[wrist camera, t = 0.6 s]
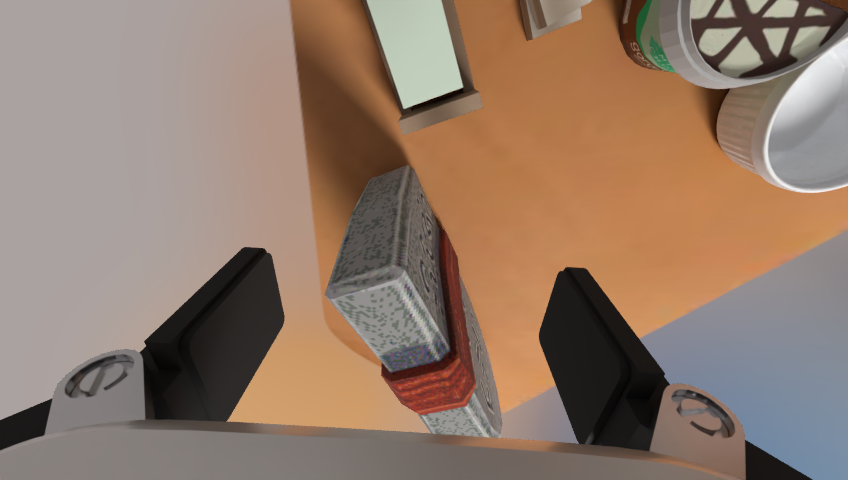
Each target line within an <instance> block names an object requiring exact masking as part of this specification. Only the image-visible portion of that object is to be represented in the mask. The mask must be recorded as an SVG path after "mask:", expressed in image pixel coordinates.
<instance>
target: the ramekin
mask: <svg viewBox="0 0 848 480" xmlns="http://www.w3.org/2000/svg"><path fill="white" fill-rule="evenodd" d="M716 131H717V139H718V142H719V145H720V146H721V149H722V151H723V152H724V153H725V155H726V156H727V157H729V158H730V159H731V160H732V161H733V162H735V163H737V164H739V165H740V166H742V167H744V168H746V169H748V170H750V171H752V172H754V173H756V174H758V175H760V176H761V177H762V178H763V179H765V180H766V181H767V182H769V183H771V184H773V185H775V186H778V187H780V188H784V189H787V190H791V191H795V192H803V193H816V192H825V191H831V190H835V189H838V188H842V187H845V186H848V34H847V35H846V36H845V37H844V38H843V39H842V40H840V41H839V42H838V43H837V44H835V45H834V46H833V47H831V48H830V49H829V50H828V51H826V52H825V53H823V54H822V55H820V56H819V57H817V58H816V59H814V60H813V61H811V62H809V63H807V64H805V65H803V66H802V67H800V68H798V69H796V70H794V71H791V72H788V73H786V74H784V75H782V76H779V77H776V78H774V79H771V80H768V81H765V82H760V83H756V84H752V85H746V86H741V87H736V88H731V89H730V90H729V92H728V93H727V95H726V97H725V99H724V101H723V103H722V105H721V108H720V111H719V114H718V119H717V130H716Z"/></svg>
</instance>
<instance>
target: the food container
mask: <svg viewBox="0 0 848 480" xmlns="http://www.w3.org/2000/svg"><path fill="white" fill-rule="evenodd" d="M619 24H620V38H621V42H622V45H623V47H624V49H625V51H626V54H627V56H629V57H630V58H631V59H632V60H633V61H634V62H635V63H636V64H638V65H640V66H642V67H645V68H648V69H654V70H661V71H667V72H674V73H678V74H679V75H680V76H682V77H683V78H684V79H685V80H687V81H689V82H691V83H693V84H695V85H698V86H702V87H705V88H713V89H727V88H736V87H741V86H746V85H752V84H756V83H760V82H765V81H768V80H771V79H774V78H776V77H779V76H782V75H784V74H786V73H788V72H791V71H794V70H796V69H798V68H800V67H802V66H803V65H805V64H807V63H809V62H811V61H813V60H814V59H816V58H817V57H819V56H820V55H822V54H823V53H825V52H826V51H828V50H829V49H830V48H831V47H833V46H834V45H835V44H837V43H838V42H839V41H840V40H842V39H843V38H844V37H845V36H846V35H847V34H848V11H847V12H846V11H844V10H842V9H841V8H838V7H834V6H832V5H829V4H827V3H825V2H823V1H821V0H624V1H623V5H622V10H621V15H620V20H619Z"/></svg>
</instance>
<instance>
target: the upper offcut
mask: <svg viewBox="0 0 848 480" xmlns="http://www.w3.org/2000/svg"><path fill="white" fill-rule="evenodd" d="M591 1H592V0H529V3H530V6H531V10H532V13H533V16H534V19H535V23H536V26H537V29H538V30H539V29H542V28H545V27H547V26H549V25H551V24H553V23H554V22H556V21H558V20H559V19H561V18H563V17H565V16H566V15H568V14H570V13H572V12H573V11H575V10H577V9H578V8H580V7H582V6H584V5H585V4H587V3H589V2H591Z"/></svg>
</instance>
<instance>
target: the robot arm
mask: <svg viewBox="0 0 848 480" xmlns="http://www.w3.org/2000/svg"><path fill="white" fill-rule="evenodd" d="M283 324H284V312H283V308H282V303H281V298H280V294H279V288H278V283H277V279H276V274H275V269H274V264H273V260H272V256H271V254H270V253H267V252H266V250H265V249H263V248H251V247H244V248H243V249H241V250H240V251H239V252H238V253H237V254H236V255H235V256H234V257H233V258H232V259H231V260H230V261H229V262H228V263H227V264H225V266H223V267H222V268H221V269H220V270H219V271H218V272H217V273H216V274H215V275H214V276H213V277H212V278H211V279H210V280H209V281H207V282H206V283H205V284H204V285H203V286H202V287H201V288H200V289H199V290H198V291H197V292H196V293H195V294H194V295H193V296H192V297H191V298H190V299H188V301H186V302H185V303H184V304H183V305H182V306H181V307H180V308H179V309H178V310H177V311H176V312H175V313H174V314H173V315H172V316H171V317H170V318H169V319H167V320H166V321H165V322H164V323H163V324H162V325H161V326H160V327H159V328H158V329H157V330H156V331H155V332H154V333H153V334H151V335H150V336H149V337H148V338H147V339H146V340H145V341H144V342H145V344H146V347H145V348H144V349H143V350H142V351H141V352H140V353H139V352H137V351H135V350H129V349H124V350H115V351H111V352H108V353H104V354H101V355H99V356H97V357H94V358H92V359H90V360H88V361H86V362H84V363H82V364H81V365H79V366H77V367H76V368H75V369H73V370H72V371H71V372H69V373H68V374H67V375H66V376H65V377H64V378H63V379H62V380H61V381H60V382H59V383H58V385H57V387H56V389H55V391H54V395H53V398H52V399H50V400H48V401H45V402H43V403H40V404H38V405H35V406H33V407H31V408H29V409H26V410H24V411H21V412H19V413H16V414H14V415H12V416H9V417H7V418H4V419H2V420H0V480H812V479H811V478H809V477H807V476H806V475H804V474H802V473H800V472H799V471H797V470H795V469H793V468H792V467H790V466H789V465H787V464H785V463H784V462H781V461H780V460H778V459H777V458H775V457H773V456H772V455H770V454H768V453H766V452H765V451H763V450H762V449H760V448H758V447H756V446H754V445H753V444H751V443H750V442H748V441H746V440H745V434H744V430H743V426H742V425H741V423H740V421H739V420H738V418H737V417H736V415H735V414H734V413H733V412H732V411H731V410H730V409H729V408H728V407H727V406H726V405H724V404H723V403H722V402H721V401H719V400H718V399H717V398H715V397H714V396H712V395H710V394H709V393H707V392H705V391H703V390H701V389H698V388H696V387H694V386H690V385H686V384H671V385H670V384H669V383H668V382H667V380H666V379H665V378H664V375H665V373H664V372H663V370H662V369H661V368H660V366H659V365H658V364H657V362H656V361H655V360H654V358H653V357H652V356H651V354H650V353H649V352H648V350H647V349H646V348H645V346H644V345H643V344H642V342H641V341H640V340H639V338H638V337H637V336H636V334H635V333H634V332H633V330H632V329H631V328H630V326H629V325H628V324H627V322H626V321H625V320H624V318H623V317H622V316H621V314H620V313H619V312H618V310H617V309H616V308H615V306H614V305H613V304H612V302H611V301H610V300H609V298H608V297H607V296H606V294H605V293H604V292H603V290H602V289H601V288H600V286H599V285H598V284H597V282H596V281H595V280H594V278H593V277H592V276H591V274H590V273H589V272H588V270H587V269H585V268H573V267H566V268H565V269H564V270H563V271H560V272H559V273H558V275H557V278H556V281H555V284H554V287H553V290H552V294H551V297H550V300H549V303H548V306H547V309H546V313H545V316H544V319H543V322H542V325H541V328H540V332H539V341H540V344H541V347H542V349H543V352H544V355H545V357H546V360H547V363H548V365H549V368H550V370H551V373H552V376H553V378H554V381H555V384H556V386H557V389H558V391H559V394H560V397H561V399H562V402H563V404H564V407H565V410H566V412H567V415H568V418H569V420H570V423H571V425H572V428H573V431H574V433H575V436H576V439H577V441H578V442H579V444H575V443H562V442H550V441H535V440H521V439H504V438H491V437H476V436H462V435H446V434H430V433H414V432H398V431H397V432H396V431H382V430H365V429H349V428H331V427H314V426H295V425H279V424H278V425H277V424H259V423H243V422H226V421H227V420H228V419H229V417H230V415H231V414H232V412H233V410H234V409H235V407H236V405H237V404H238V402H239V400H240V398H241V397H242V395H243V393H244V392H245V390H246V388H247V386H248V385H249V383H250V381H251V380H252V378H253V376H254V374H255V372H256V371H257V369H258V367H259V366H260V364H261V362H262V360H263V359H264V357H265V356H266V354H267V352H268V350H269V349H270V347H271V345H272V344H273V342H274V340H275V339H276V337H277V335H278V333H279V332H280V330H281V328H282V326H283Z"/></svg>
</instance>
